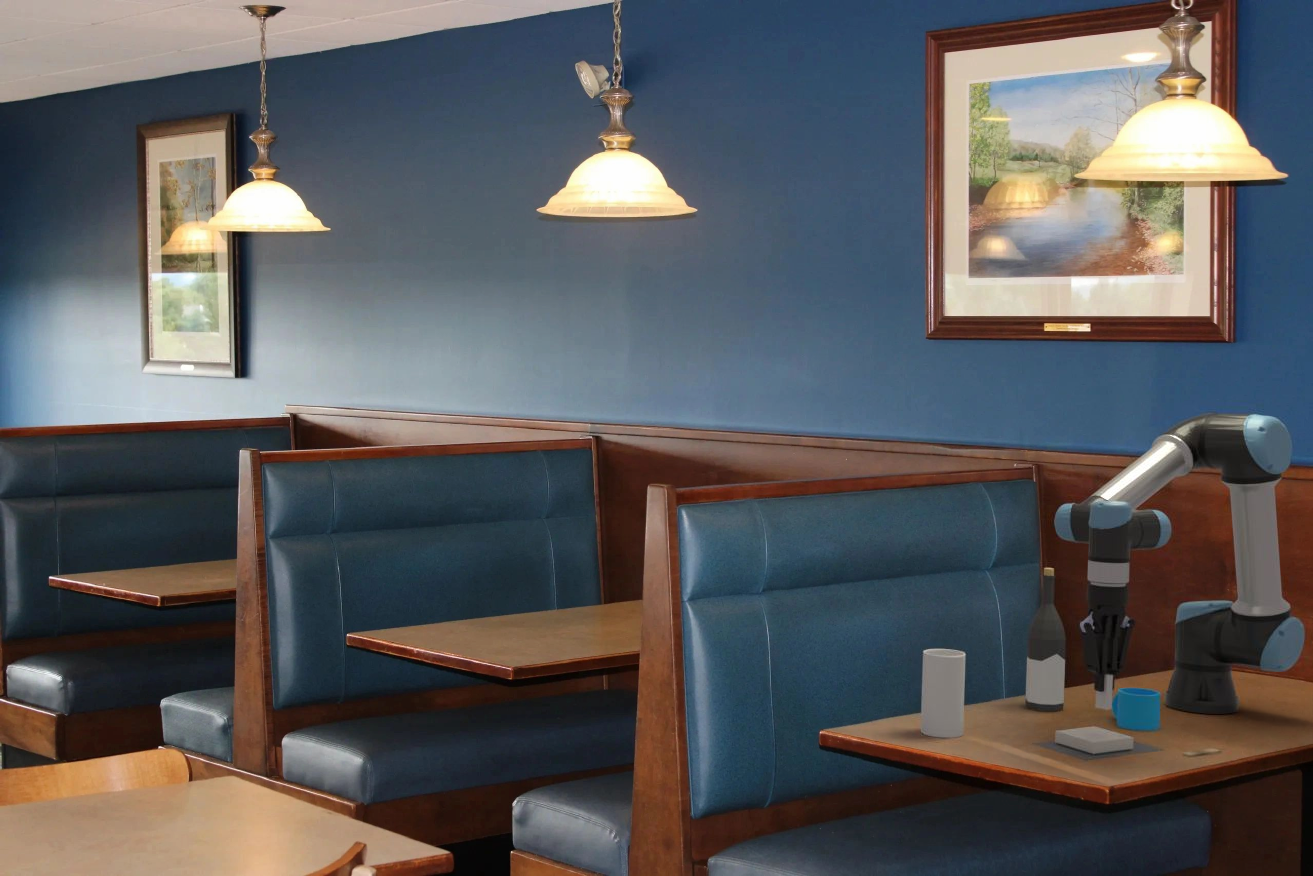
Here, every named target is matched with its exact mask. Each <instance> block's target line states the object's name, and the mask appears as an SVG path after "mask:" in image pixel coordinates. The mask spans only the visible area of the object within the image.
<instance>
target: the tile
mask: <svg viewBox="0 0 1313 876" xmlns="http://www.w3.org/2000/svg"><path fill="white" fill-rule="evenodd" d="M1054 732H1055V733H1054V735H1055V736H1054V741H1055V742H1057V743H1059V744H1060V745H1063V746H1067V747H1070V748H1073V749H1076V750H1080V751H1083V752H1086V753H1089V754H1093V755H1095V754H1103V753H1111V752H1118V751H1126V750H1129V749H1133V741H1134V737H1133V736H1129V735H1127V734H1123V733H1119V732H1117V731H1112V730H1108V729H1105V728H1102V727H1098V726H1096V725H1095V726H1094V725H1093V726H1088V727H1087V726H1086V727H1077V728H1070V729H1062V730H1061V729H1060V730H1059V729H1058V730H1055V731H1054Z"/></svg>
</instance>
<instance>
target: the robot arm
mask: <svg viewBox="0 0 1313 876" xmlns="http://www.w3.org/2000/svg"><path fill="white" fill-rule="evenodd" d="M1292 443H1293V442H1292V438H1291V435H1290V432H1289V431H1288V428H1287V427H1286V425H1285V424H1284V423H1282V421H1281V420H1280V419H1278V418H1277V417H1274V416H1270V415H1262V414H1258V413H1254V414H1253V413H1252V414H1251V413H1250V414H1249V413H1217V412H1214V413H1213V412H1210V413H1209V412H1207V413H1202V414H1200V415H1199V414H1197V415H1195V416H1192V417H1190V418H1186V419H1185V420H1183V421H1181V422H1179V423H1177V424H1175V425H1173V426H1172V427H1170V428H1168V429H1167V430H1165V431H1164V432H1163V433H1161V434H1160V435H1159V436H1158V437H1156V438H1155V439H1154V440H1153V442H1152V443H1151V448H1150V449H1149V450H1148V451H1146V452H1145V453H1144V454H1142V455H1141V456H1140V457H1138V458H1137V459H1136V460H1135V461H1133V462H1132V463H1131V464H1130V465H1128V466H1127V467H1126V468H1124V469H1123V470H1122V471H1121V472H1119V473H1118V474H1117V475H1115V476H1114V477H1113V478H1111V480H1109V481H1108V482H1107V483H1105V484H1104V485H1103V486H1102V487H1100V488H1099V489H1097V491H1095V492H1094V493H1093V494H1092V495H1090V496H1089V497H1088V498H1087V499H1085V500H1084V501H1082V502H1080V503H1077V502H1073V503H1064V504H1062V505H1061V506H1060V507H1058V509H1057V511H1056V513H1055V516H1054V521H1053V522H1054V527H1055V532H1056V534H1057V536H1058V537H1059V538H1060V539H1062V540H1065V541H1069V542H1074V543H1076V544H1081V543H1082V544H1088V555H1087V556H1088V557H1087V559H1088V560H1087V581H1088V582H1090V583H1088V584H1087V585H1086V586H1087V587H1086V602H1087V603H1088V606H1089V608H1088V611H1087V615H1086V618H1085V619H1084V620H1083V621H1082V620H1081V621H1080V620H1078V621H1077V623H1076V626H1077V628H1078V630H1079V632H1080V638H1081V644H1082V651H1083V657H1084V663H1085V669H1086V670H1087V671H1089V672H1091V673H1093V674H1094V679H1093V680H1094V681H1093V682H1094V683H1093V684H1094V685H1093V689H1094V691H1095V708H1096V709H1097V708H1098V709H1101V710H1105V711H1108V710H1112V700H1113V691H1114V689H1115V682H1116V681H1115V679H1116V678H1115V676H1119V675H1120V673H1121V672H1120V671H1122V670H1124V668H1125V663H1126V661H1127V660H1126V659H1127V655H1128V649H1129V644H1130V641H1131V635H1132V632H1133V630H1134V628H1135V626H1136V619H1134V618H1130V617H1129V616H1127V611H1126V606H1127V605H1128V604H1129V589H1130V588H1129V586H1128V585H1126V584H1128V583H1129V582H1130V557H1131V555H1130V553H1131V551H1138V550H1139V551H1141V550H1148V551H1151V550H1153V549H1154V550H1155V549H1158V548H1161V547H1163V546H1165V545H1166V544H1167V543H1168V541H1169V540H1170V538H1171V535H1172V530H1173V529H1172V525H1171V521H1170V519H1169V517H1168V516H1167V515H1166V514H1165V513H1164V512H1163V511H1161V510H1158V509H1149V508H1146V509H1137V508H1138V507H1140V506H1141V505H1142V504H1144V502H1146V501H1147V500H1148V499H1150V498H1151V497H1152V496H1153V495H1154V494H1156V493H1157V492H1158V491H1159V490H1161V489H1162V488H1163V487H1165V486H1166V485H1167V484H1168V483H1170V482H1171V481H1172V480H1173V479H1175V478H1176V477H1177V478H1178V477H1179V478H1180V477H1184V476H1186V475H1187V474H1189V473H1190V472H1192V471H1194V470H1200V469H1211V470H1220V475H1221V477H1220V478H1221V483H1222V484H1224V485H1226V487H1227V488H1228V489H1229V494H1230V507H1231V508H1230V509H1231V521H1232V533H1233V547H1234V550H1233V551H1234V559H1235V560H1234V562H1235V572H1236V573H1235V575H1236V576H1235V577H1236V587H1237V599H1236V600H1235V601H1234V602H1233V601H1231V600H1202V601H1201V600H1198V601H1188V602H1183V603H1180V604H1179V606H1178V607H1177V610H1176V619H1175V621H1174V622H1175V623H1174V625H1175V641H1174V642H1175V644H1174V646H1175V648H1174V669H1173V673H1172V675H1171V678H1170V680H1169V684H1168V687H1167V690H1166V691H1165V693H1164V705H1165V706H1166V707H1168V708H1171V709H1175V710H1178V711H1183V712H1189V713H1196V714H1207V715H1209V714H1210V715H1226V714H1227V715H1228V714H1233V713H1237V712H1238V711H1239V709H1240V708H1239V704H1240V703H1239V702H1240V701H1239V697H1238V695H1237V692H1236V688H1235V684H1234V679H1233V677H1232V676H1233V675H1232V665H1234V666H1241V667H1247V668H1252V669H1257V670H1262V671H1263V672H1278V673H1280V672H1286V671H1288V670H1290V669H1291V668H1292V667H1293V666H1294V665H1295V664H1296V662H1297V661H1298V660H1299V658H1300V655H1301V654H1302V651H1303V647H1304V642H1305V635H1306V634H1305V633H1306V632H1305V627H1304V623H1302V621H1301V620H1300V619H1299V618H1297V617H1295V616H1292V610H1291V605H1290V603H1289V602H1288V601H1287V600H1286V599H1284V598H1283V594H1282V579H1281V578H1282V577H1281V565H1280V564H1281V562H1280V549H1279V536H1278V535H1279V534H1278V521H1277V520H1278V519H1277V507H1276V506H1277V505H1276V491H1275V489H1276V488H1275V486H1277V484H1278V483H1279V482H1280V481H1281V480H1282V473H1284V472H1286V470H1288V468H1289V466H1290V464H1291V461H1292V460H1291V458H1292V457H1293V444H1292Z"/></svg>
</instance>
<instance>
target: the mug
mask: <svg viewBox="0 0 1313 876" xmlns="http://www.w3.org/2000/svg"><path fill="white" fill-rule="evenodd" d="M1161 694H1162V693H1161V692H1159V690H1158V691H1157V690H1154V689H1150V688H1142V687H1121V688H1119V689H1118V690H1117V693H1116V694H1115V695H1114V696H1113V697H1112V709H1111V710H1112V714H1113V716H1114V718H1115V719H1116V725H1117V726H1118V727H1120V728H1123V729H1126V730H1127V729H1128V730H1133V731H1157V730H1159V729H1160V725H1161V724H1160V723H1161V699H1162V698H1161V696H1162V695H1161Z"/></svg>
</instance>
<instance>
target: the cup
mask: <svg viewBox="0 0 1313 876" xmlns="http://www.w3.org/2000/svg"><path fill="white" fill-rule="evenodd" d="M921 672H922V673H921V674H922V679H921V703H920V704H921V707H920V708H921V709H920V714H921V715H920V733H921V734H922V733H923V734H922V735H925V736H929V737H933V738H942V739H944V738H947V739H949V738H960V737H962V736H963V735H964V714H965V713H964V710H965V682H966V681H965V680H966V678H965V677H966V652H965V651H962V650H957V649H948V648H947V649H946V648H929V649H925V650H923V651H922V671H921Z"/></svg>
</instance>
